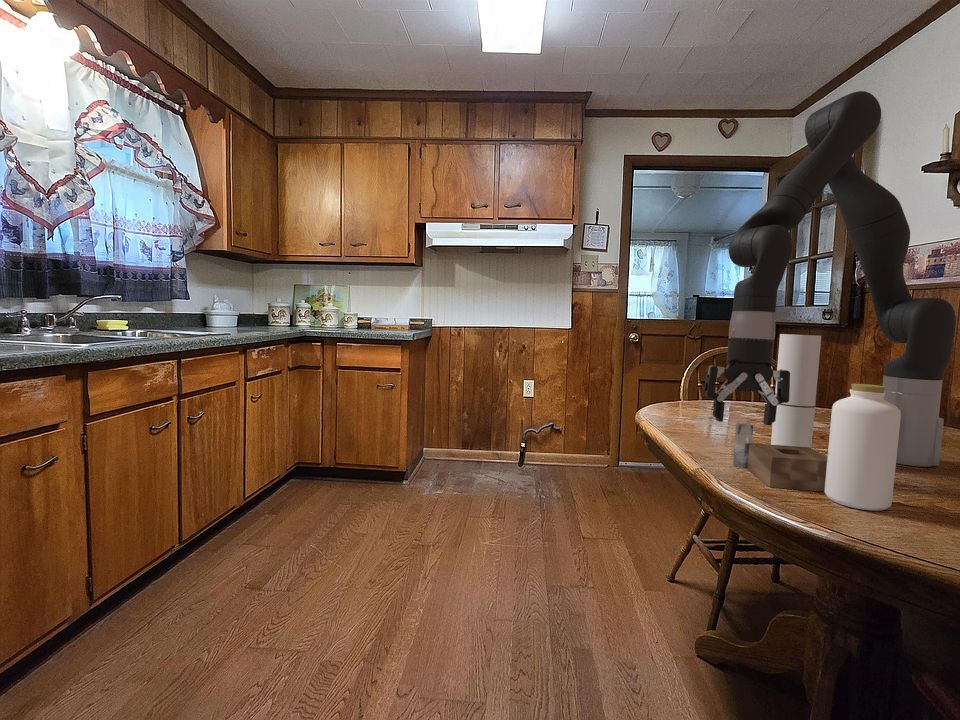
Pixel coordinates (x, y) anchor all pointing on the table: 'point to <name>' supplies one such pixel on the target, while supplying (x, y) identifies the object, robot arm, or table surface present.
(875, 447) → the potion bottle
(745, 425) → the peg
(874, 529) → the table surface
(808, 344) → the cylindrical container
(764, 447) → the walnut block
